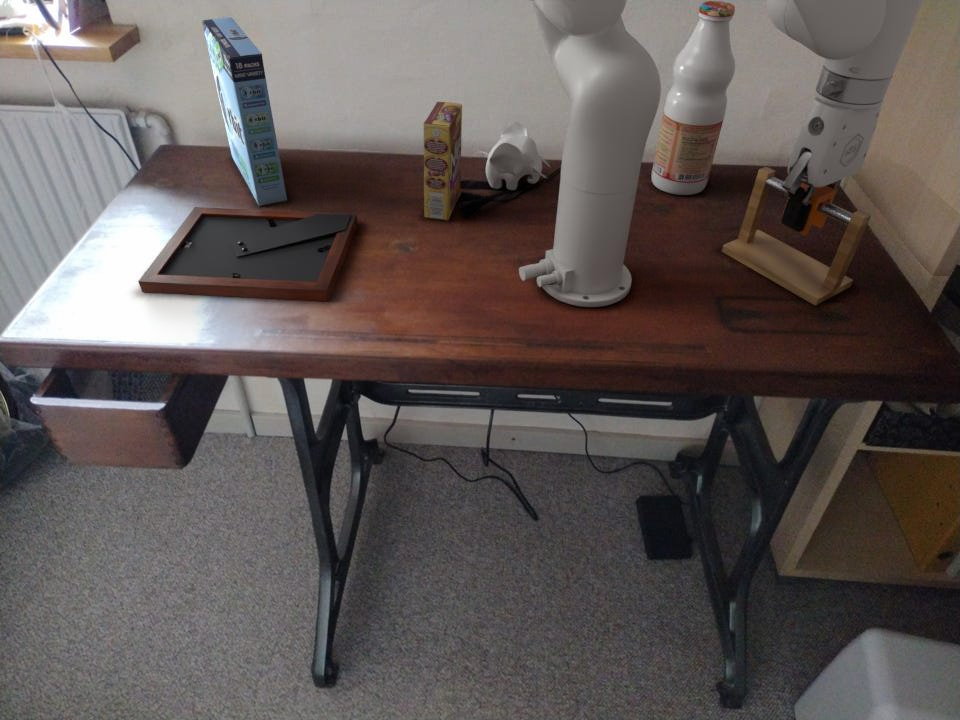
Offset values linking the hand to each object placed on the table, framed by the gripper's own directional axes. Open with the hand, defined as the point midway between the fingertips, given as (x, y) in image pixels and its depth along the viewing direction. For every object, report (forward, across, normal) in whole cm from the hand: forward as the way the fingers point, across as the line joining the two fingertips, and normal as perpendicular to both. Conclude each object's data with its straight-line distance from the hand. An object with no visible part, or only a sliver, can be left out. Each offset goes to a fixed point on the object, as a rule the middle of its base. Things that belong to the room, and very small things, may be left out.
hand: (802, 221), depth 93 cm
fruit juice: (+8, +7, +27) cm, 29 cm away
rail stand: (+8, 0, 0) cm, 8 cm away
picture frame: (+7, -62, +44) cm, 76 cm away
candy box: (+8, -31, +42) cm, 53 cm away
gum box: (+7, -53, +67) cm, 85 cm away
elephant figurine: (+8, -17, +42) cm, 46 cm away
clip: (+1, 0, 0) cm, 1 cm away
